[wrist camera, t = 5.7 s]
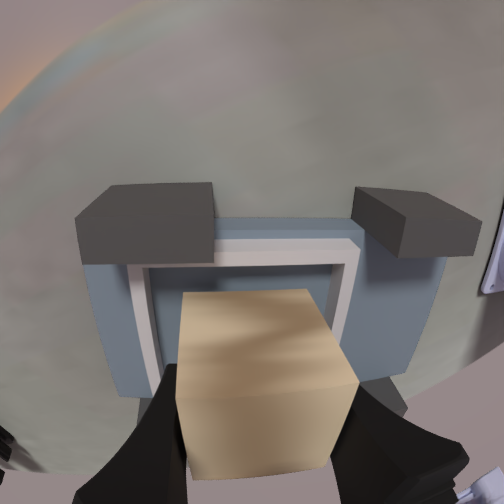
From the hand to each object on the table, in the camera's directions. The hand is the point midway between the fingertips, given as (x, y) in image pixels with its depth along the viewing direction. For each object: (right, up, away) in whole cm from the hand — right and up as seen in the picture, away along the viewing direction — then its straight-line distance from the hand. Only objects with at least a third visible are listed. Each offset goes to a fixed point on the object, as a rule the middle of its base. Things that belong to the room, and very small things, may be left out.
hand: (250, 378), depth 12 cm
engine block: (0, +1, +2) cm, 2 cm away
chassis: (+1, +2, +4) cm, 5 cm away
